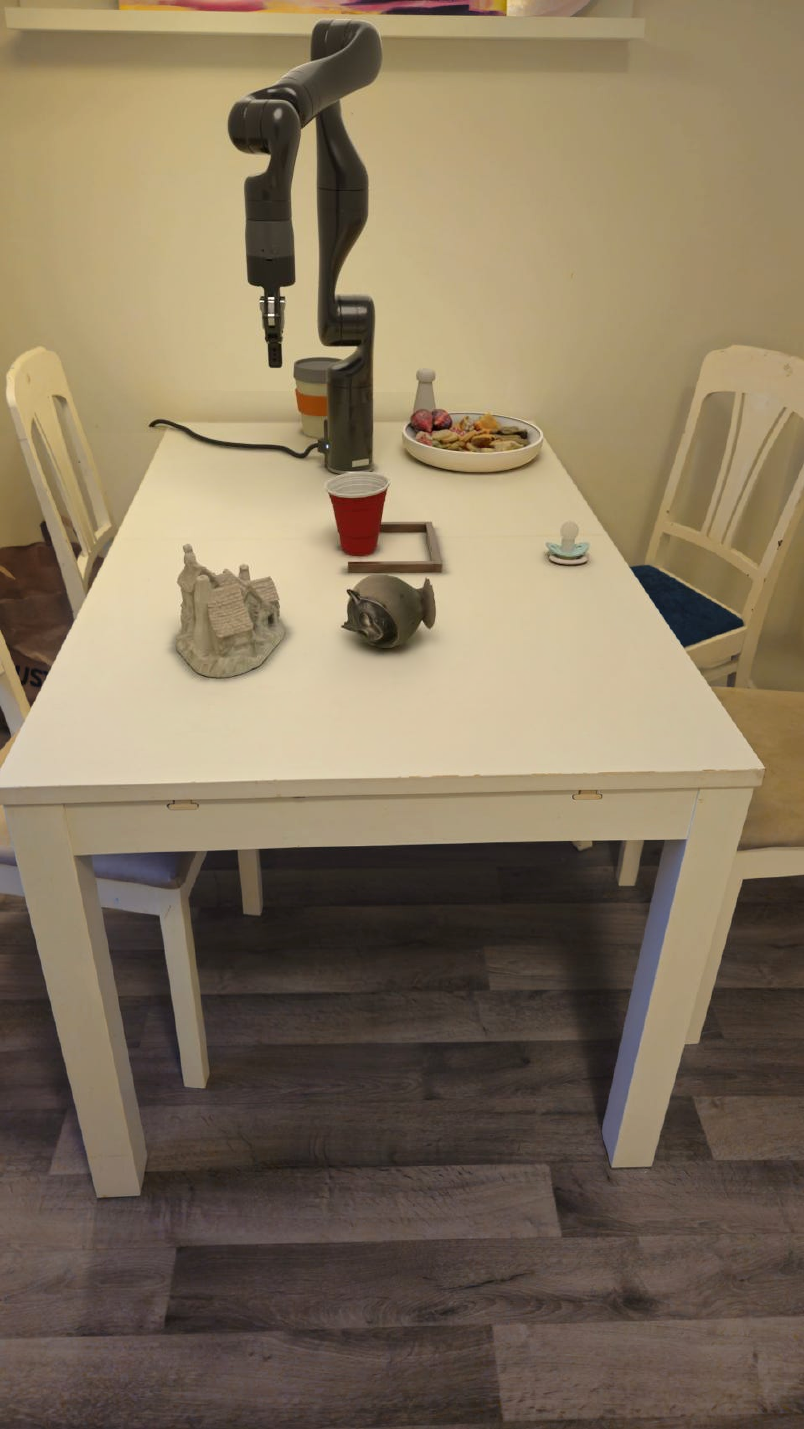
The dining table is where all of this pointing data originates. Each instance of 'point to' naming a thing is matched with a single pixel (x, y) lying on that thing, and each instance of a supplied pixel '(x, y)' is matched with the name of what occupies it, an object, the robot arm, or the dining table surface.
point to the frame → (403, 565)
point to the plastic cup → (358, 509)
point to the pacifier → (568, 546)
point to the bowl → (471, 440)
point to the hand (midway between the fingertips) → (275, 366)
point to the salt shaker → (425, 390)
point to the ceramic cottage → (226, 619)
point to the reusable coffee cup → (312, 393)
